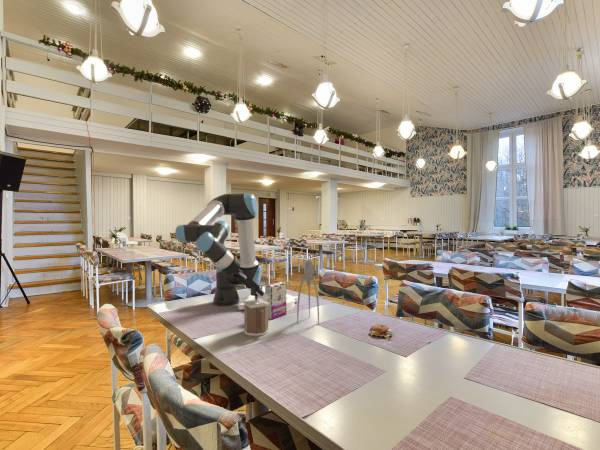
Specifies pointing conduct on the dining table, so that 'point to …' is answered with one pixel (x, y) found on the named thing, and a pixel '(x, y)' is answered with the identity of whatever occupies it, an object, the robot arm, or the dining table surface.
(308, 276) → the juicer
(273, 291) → the candy bar box
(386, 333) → the hamburger
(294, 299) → the white circle with bar
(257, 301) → the dark knobbed rod
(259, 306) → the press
